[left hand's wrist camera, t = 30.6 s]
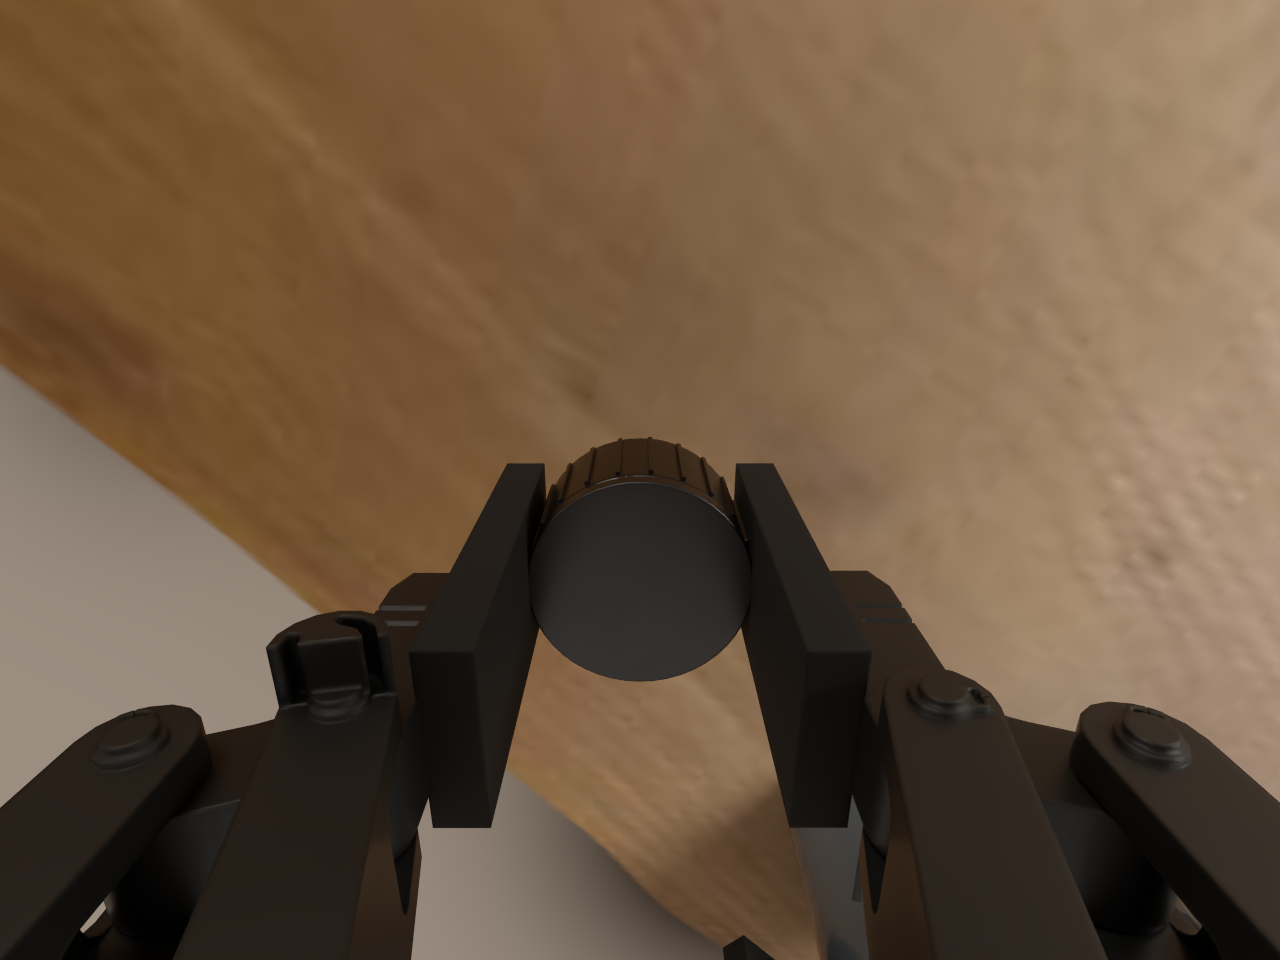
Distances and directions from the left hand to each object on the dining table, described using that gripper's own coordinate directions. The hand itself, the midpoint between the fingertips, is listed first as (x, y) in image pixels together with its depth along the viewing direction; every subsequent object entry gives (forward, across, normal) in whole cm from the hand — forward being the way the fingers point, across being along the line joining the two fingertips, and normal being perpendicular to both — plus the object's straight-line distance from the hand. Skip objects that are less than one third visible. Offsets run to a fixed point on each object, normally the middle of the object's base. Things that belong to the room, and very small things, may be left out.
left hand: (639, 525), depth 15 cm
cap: (-2, 0, 0) cm, 2 cm away
